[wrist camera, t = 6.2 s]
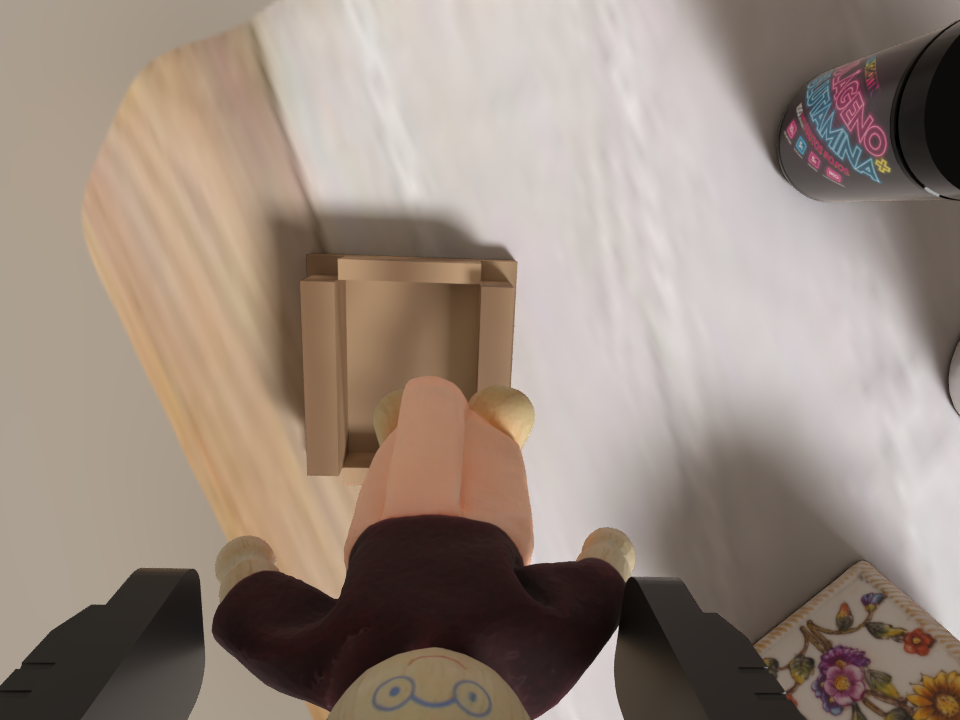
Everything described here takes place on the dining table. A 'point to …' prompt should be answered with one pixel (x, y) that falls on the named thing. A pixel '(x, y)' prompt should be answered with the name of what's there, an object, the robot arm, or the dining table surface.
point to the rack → (394, 342)
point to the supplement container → (879, 126)
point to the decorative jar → (865, 654)
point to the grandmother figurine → (431, 579)
